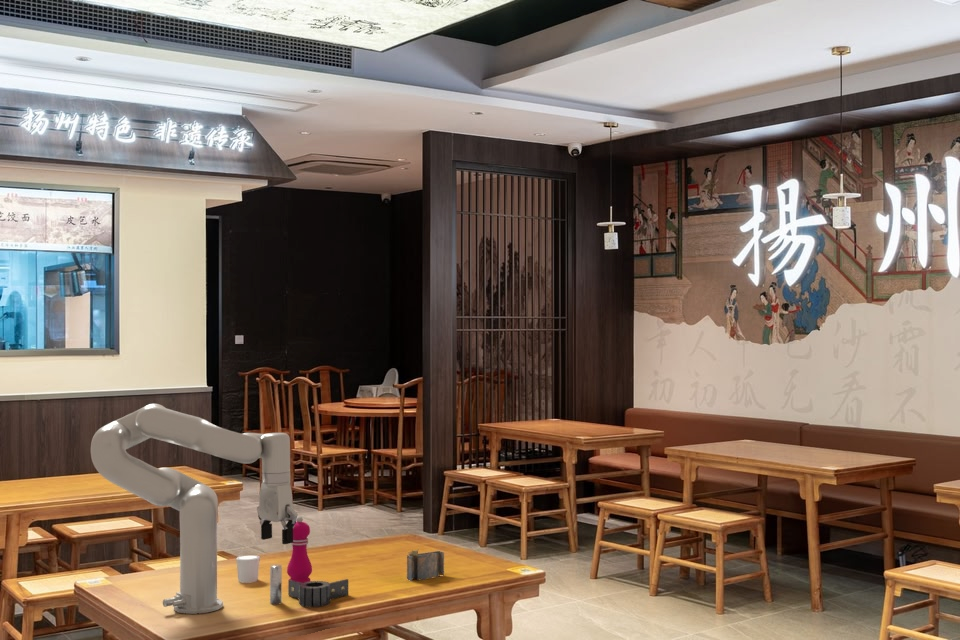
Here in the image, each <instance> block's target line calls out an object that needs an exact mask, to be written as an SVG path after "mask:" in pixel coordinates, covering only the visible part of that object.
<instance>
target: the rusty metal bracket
mask: <svg viewBox="0 0 960 640" xmlns="http://www.w3.org/2000/svg"><path fill="white" fill-rule="evenodd" d="M440 575H443V576H444V577H445V551H442V550H436V551H428V552H422V553H419V548H418V549H417V550H416V549H415V550H413V549H412V550H411V551H409V552H408V554H407V555H406V580H407V579H408V580H407V581H409V580H410V582H413V579H412V578H416V579H417V581H420V580H419V579H423V580H427V579H426V578H430V579H433V578H432V577H436V578H439V577H438V576H440Z"/></svg>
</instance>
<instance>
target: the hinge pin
mask: <svg viewBox="0 0 960 640" xmlns="http://www.w3.org/2000/svg"><path fill="white" fill-rule="evenodd" d="M269 567H270V568H269V570H270V571H269V576H270V577H269V580H270V581H269V586H270V587H269V593H270V594H269V598H270V599H269V600H270V601H269V603H270V604H271V605H280V604H279V603H281V604H282V581H283V580H282V568H283V567H282V565H280V564H273V565H270V566H269Z"/></svg>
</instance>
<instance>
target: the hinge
mask: <svg viewBox="0 0 960 640" xmlns="http://www.w3.org/2000/svg"><path fill="white" fill-rule="evenodd" d="M287 587H288V588H287V589H288V595H289V596H288V597H290V596H292V597H291V598H294V597H295V599H297V598H299V599H298V605H299V604H300V605H301V607H305V608H320V607H324V606H327V605H330V604H331V601H332V600H335V599H339V598H343V597H346V596H345V595H347V596H349V579H348V578H345V579H341V580H338V581H337V580H335V581H333V582H329V581H324V580H310V581H309V582H304V583H301V582H297V581H293V580H289V579H288V586H287ZM342 596H343V597H342ZM338 597H339V598H338ZM300 605H299V606H300Z"/></svg>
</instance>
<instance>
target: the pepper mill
mask: <svg viewBox="0 0 960 640" xmlns="http://www.w3.org/2000/svg"><path fill="white" fill-rule="evenodd" d="M310 533H311V528H310V526H309V524H308V523H306V522H305V521H304V520H303V516H297V519H296V523H295V525H294V528H293V543H290V545H292V546H291V547H292V550H291V551H292V554H291V556H290V559H289V561H288V564H287V567H286V570H287V571H286V573H287V575H288V577H289V579H288V580H293V581H297V582H301V583H304V582H309V581H311V578H310V576H311V575H312V573H313V566H312V563H311V561H310V558H309V556H308V555H309V554H308V550H307V548H308V544H309V538H308V536H310Z"/></svg>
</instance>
